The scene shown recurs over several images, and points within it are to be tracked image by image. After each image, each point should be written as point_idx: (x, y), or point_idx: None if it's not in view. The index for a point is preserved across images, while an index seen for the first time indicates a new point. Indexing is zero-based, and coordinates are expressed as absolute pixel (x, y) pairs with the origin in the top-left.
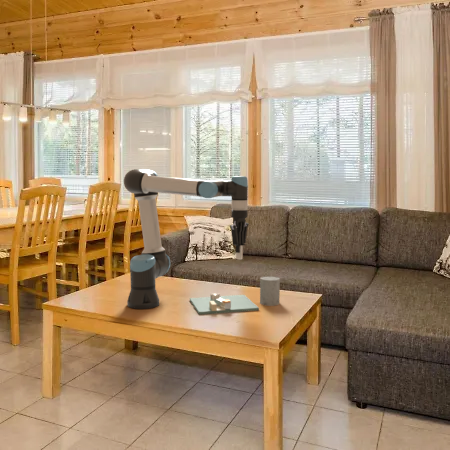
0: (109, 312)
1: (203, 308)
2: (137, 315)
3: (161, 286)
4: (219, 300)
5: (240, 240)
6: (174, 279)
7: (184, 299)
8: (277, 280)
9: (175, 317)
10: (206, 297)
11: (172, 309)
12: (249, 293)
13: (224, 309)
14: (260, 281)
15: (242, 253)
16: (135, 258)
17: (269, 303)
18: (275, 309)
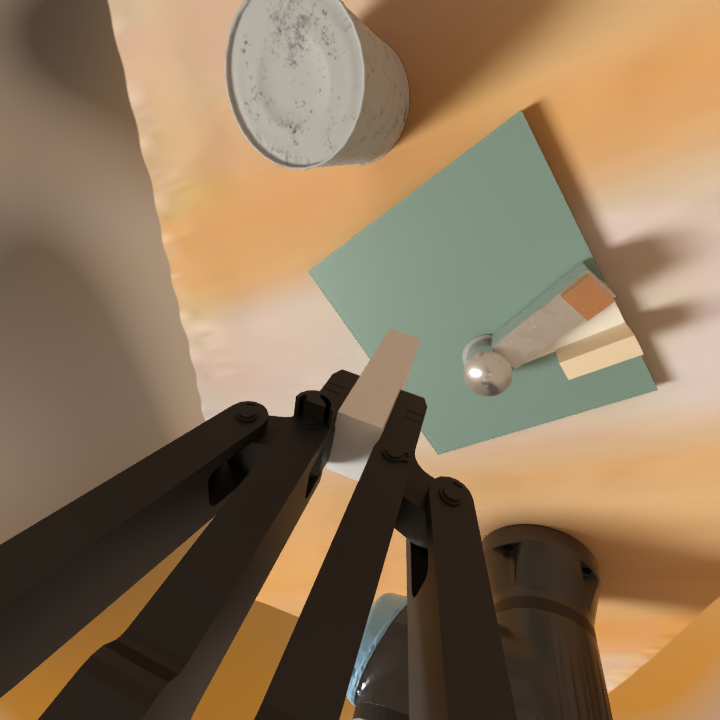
0: (648, 628)
1: (588, 384)
2: (683, 567)
3: (314, 534)
4: (551, 337)
5: (361, 502)
6: None
7: (429, 465)
8: None
9: (710, 459)
10: None
11: (578, 482)
12: (253, 262)
13: None
14: (337, 158)
15: (374, 356)
16: None
17: (404, 81)
18: (476, 4)
